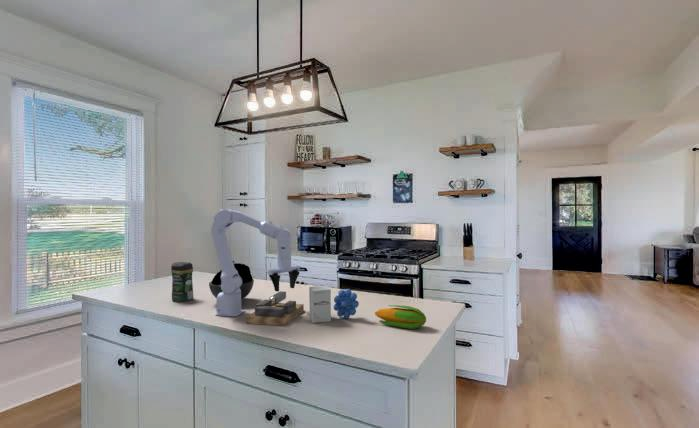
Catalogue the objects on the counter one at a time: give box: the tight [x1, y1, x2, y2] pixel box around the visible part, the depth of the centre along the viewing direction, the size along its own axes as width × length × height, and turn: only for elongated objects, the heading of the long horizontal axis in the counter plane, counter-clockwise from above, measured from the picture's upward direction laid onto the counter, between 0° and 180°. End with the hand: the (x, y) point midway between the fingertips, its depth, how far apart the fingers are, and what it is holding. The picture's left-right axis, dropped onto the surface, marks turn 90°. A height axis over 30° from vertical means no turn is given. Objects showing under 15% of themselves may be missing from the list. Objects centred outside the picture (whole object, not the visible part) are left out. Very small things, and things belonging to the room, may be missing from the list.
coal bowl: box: [208, 260, 255, 301], centre depth 162 cm, size 20×20×19 cm
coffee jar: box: [170, 261, 194, 302], centre depth 168 cm, size 10×8×19 cm
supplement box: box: [308, 285, 332, 324], centre depth 135 cm, size 7×7×13 cm
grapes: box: [333, 288, 360, 320], centre depth 137 cm, size 12×7×12 cm, turn 58°
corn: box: [374, 304, 427, 330], centre depth 127 cm, size 7×8×20 cm
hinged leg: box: [268, 290, 287, 306], centre depth 153 cm, size 12×3×3 cm, turn 167°
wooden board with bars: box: [245, 299, 305, 327], centre depth 140 cm, size 16×20×6 cm
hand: (284, 289), depth 145 cm, fingers open, 7 cm apart
